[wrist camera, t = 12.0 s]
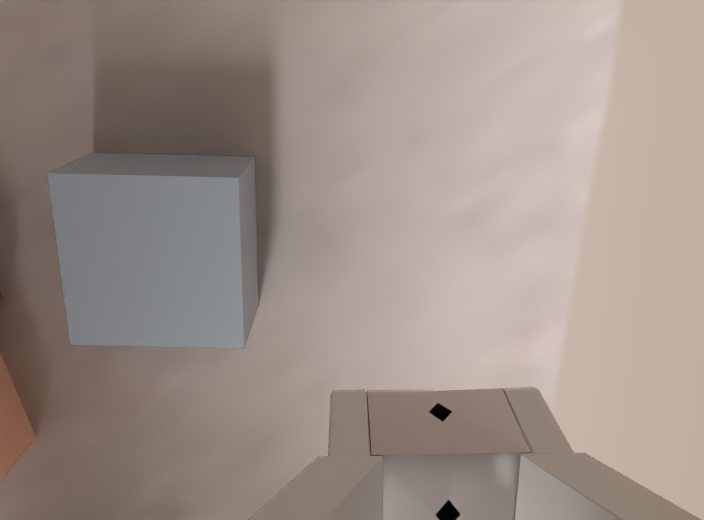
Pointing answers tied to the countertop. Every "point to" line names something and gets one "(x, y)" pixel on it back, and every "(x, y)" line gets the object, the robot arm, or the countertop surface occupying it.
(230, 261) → the slate block
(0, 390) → the terracotta block
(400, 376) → the countertop surface
